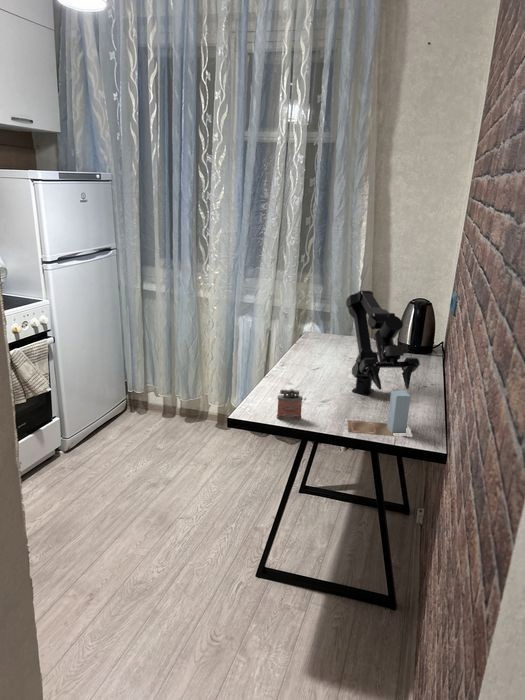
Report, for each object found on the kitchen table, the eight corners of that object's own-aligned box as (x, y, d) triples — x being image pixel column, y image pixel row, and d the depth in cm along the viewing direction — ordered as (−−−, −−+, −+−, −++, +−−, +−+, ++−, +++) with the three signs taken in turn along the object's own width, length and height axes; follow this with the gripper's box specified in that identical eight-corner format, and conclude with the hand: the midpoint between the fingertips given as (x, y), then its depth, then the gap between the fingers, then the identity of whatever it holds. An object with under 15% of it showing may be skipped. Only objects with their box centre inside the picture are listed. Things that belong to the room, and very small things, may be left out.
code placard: (409, 425, 174) (409, 425, 174) (413, 438, 166) (413, 437, 166) (347, 420, 176) (347, 420, 176) (348, 432, 168) (348, 432, 168)
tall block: (386, 427, 172) (391, 390, 169) (400, 426, 173) (404, 390, 169) (392, 433, 168) (396, 396, 164) (405, 432, 169) (410, 395, 165)
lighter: (300, 416, 178) (302, 388, 175) (301, 420, 175) (303, 391, 172) (276, 415, 178) (277, 387, 175) (276, 420, 175) (278, 391, 172)
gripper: (365, 334, 171) (373, 378, 164) (421, 334, 174) (431, 378, 166) (355, 350, 181) (363, 393, 173) (408, 350, 183) (418, 392, 176)
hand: (394, 388), depth 172 cm, fingers open, 9 cm apart
